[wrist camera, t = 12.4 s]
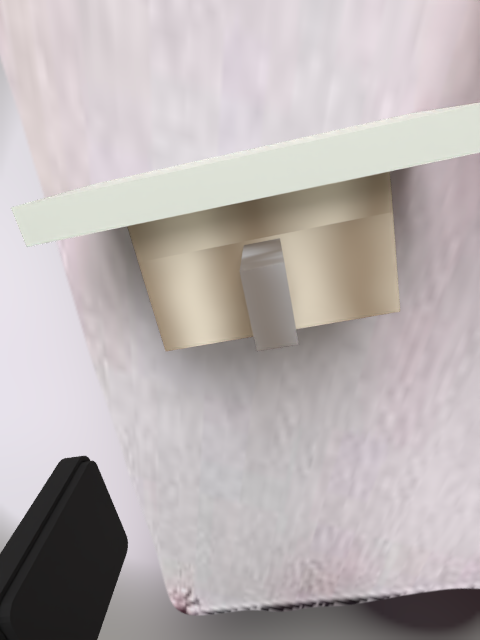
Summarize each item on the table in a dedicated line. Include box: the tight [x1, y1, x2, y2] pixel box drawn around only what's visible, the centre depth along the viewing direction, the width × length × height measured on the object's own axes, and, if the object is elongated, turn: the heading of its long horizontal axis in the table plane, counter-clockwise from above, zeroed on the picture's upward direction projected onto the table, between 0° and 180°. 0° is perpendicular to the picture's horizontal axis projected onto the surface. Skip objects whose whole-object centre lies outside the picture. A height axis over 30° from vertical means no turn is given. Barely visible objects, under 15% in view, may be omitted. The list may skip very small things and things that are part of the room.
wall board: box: [11, 103, 480, 247], centre depth 26 cm, size 23×2×12 cm, turn 102°
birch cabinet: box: [127, 171, 400, 351], centre depth 26 cm, size 14×8×15 cm, turn 102°
